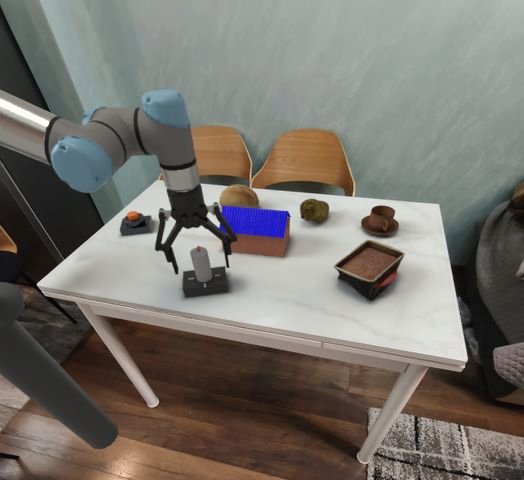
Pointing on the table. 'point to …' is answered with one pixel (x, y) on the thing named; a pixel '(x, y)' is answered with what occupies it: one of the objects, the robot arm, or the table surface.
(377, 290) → the baking dish
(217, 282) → the timer panel
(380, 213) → the cup and saucer
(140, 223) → the button block
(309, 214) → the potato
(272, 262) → the table surface
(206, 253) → the timer dial
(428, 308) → the table surface
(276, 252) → the house
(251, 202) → the bread roll
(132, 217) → the button
